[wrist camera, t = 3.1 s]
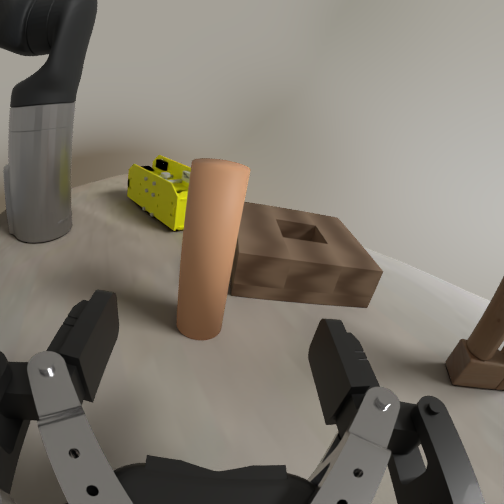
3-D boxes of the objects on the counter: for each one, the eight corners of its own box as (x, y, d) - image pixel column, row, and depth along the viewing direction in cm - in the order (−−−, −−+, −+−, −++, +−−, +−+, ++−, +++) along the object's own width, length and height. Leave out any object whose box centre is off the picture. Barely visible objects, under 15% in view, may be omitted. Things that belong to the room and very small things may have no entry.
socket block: (231, 295, 31) (239, 252, 29) (229, 232, 45) (234, 200, 43) (367, 307, 33) (383, 271, 31) (328, 246, 48) (337, 217, 45)
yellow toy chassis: (204, 229, 45) (212, 175, 41) (171, 236, 41) (177, 177, 37) (152, 196, 53) (157, 153, 50) (125, 200, 49) (128, 154, 46)
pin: (173, 337, 24) (188, 166, 18) (179, 307, 27) (195, 155, 21) (221, 342, 25) (252, 176, 18) (221, 313, 28) (248, 163, 22)
